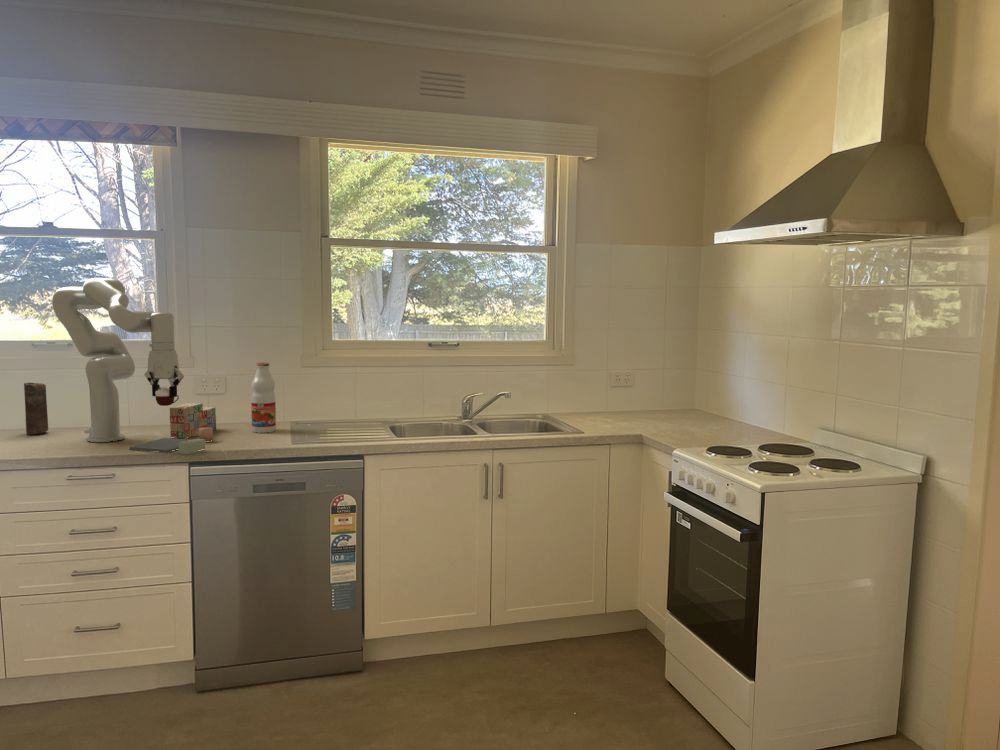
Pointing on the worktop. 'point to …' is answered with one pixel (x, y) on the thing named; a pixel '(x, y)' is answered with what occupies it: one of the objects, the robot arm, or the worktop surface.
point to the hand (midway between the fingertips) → (164, 396)
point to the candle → (35, 408)
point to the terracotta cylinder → (205, 433)
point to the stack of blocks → (190, 419)
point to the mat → (159, 445)
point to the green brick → (191, 446)
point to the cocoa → (163, 395)
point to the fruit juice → (263, 400)
